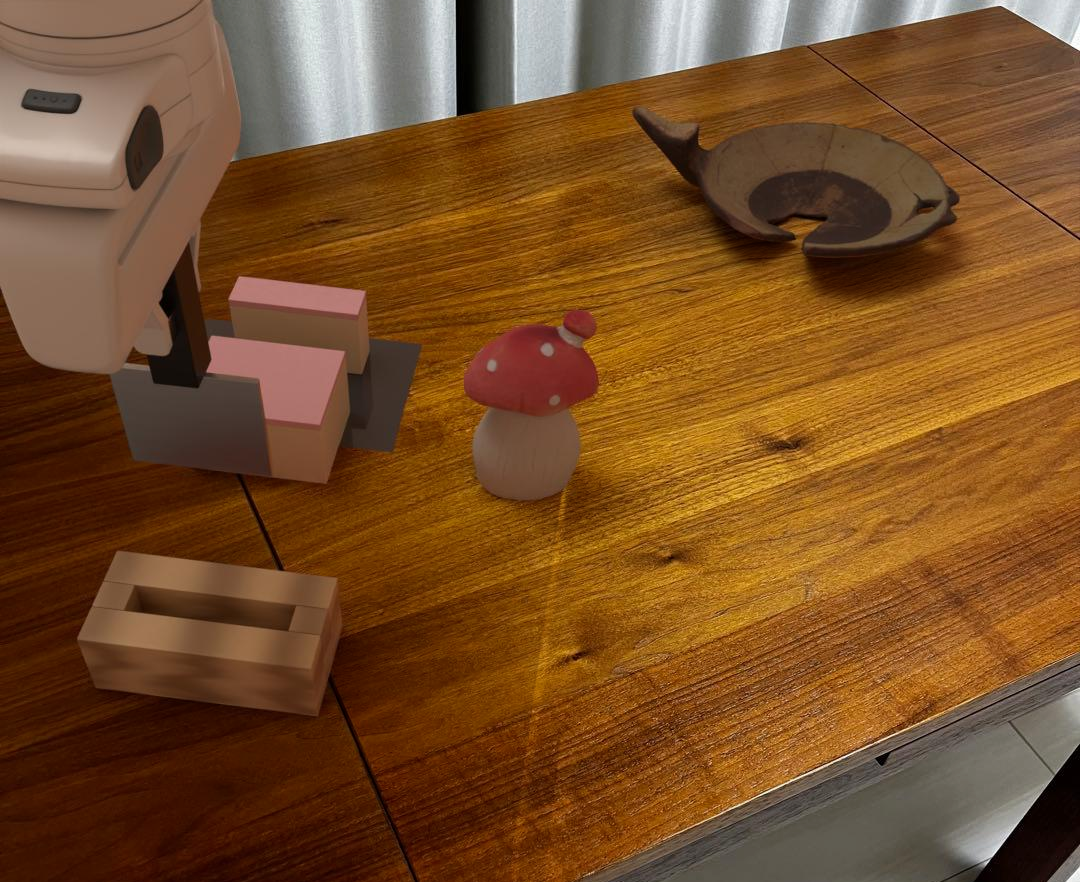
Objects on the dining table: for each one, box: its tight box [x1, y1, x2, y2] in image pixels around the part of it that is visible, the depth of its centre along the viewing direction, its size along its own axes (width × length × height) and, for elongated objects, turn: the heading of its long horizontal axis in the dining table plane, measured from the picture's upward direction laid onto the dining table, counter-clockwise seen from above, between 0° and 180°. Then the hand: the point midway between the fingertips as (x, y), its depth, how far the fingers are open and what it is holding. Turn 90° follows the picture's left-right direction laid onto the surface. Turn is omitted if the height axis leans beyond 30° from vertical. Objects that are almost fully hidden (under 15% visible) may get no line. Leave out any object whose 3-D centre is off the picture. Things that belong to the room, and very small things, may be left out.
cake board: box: [204, 318, 423, 453], centre depth 92 cm, size 18×18×1 cm
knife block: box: [76, 550, 344, 717], centre depth 74 cm, size 14×7×6 cm, turn 84°
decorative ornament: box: [463, 309, 600, 501], centre depth 84 cm, size 9×6×15 cm
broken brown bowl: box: [631, 105, 961, 259], centre depth 112 cm, size 22×30×8 cm
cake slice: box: [227, 275, 370, 374], centre depth 94 cm, size 10×3×6 cm, turn 84°
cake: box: [206, 336, 350, 485], centre depth 87 cm, size 10×8×6 cm
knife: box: [108, 241, 274, 478], centre depth 62 cm, size 8×2×15 cm, turn 84°
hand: (169, 322), depth 60 cm, fingers closed on knife, 2 cm apart
